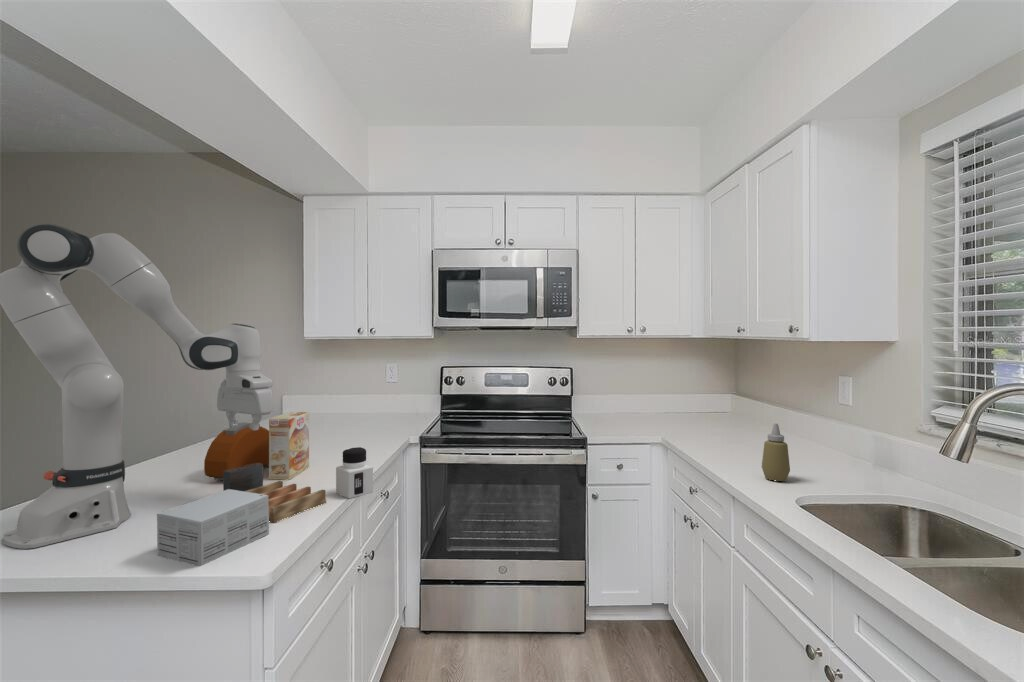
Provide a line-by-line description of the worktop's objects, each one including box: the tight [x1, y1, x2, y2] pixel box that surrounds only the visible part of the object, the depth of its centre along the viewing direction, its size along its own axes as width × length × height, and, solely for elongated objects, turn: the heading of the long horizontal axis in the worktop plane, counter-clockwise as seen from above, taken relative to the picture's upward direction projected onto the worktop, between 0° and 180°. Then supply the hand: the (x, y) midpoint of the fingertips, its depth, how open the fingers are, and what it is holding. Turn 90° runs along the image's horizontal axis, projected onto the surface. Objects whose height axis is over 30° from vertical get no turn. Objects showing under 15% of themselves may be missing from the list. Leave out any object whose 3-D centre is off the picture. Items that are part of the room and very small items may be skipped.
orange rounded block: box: [203, 422, 269, 481], centre depth 162 cm, size 23×9×17 cm, turn 169°
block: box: [222, 463, 264, 491], centre depth 140 cm, size 10×3×8 cm, turn 153°
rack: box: [244, 480, 327, 524], centre depth 130 cm, size 16×19×4 cm
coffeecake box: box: [268, 411, 310, 480], centre depth 161 cm, size 15×7×20 cm, turn 179°
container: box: [335, 446, 374, 499], centre depth 141 cm, size 8×8×13 cm
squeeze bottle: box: [761, 423, 791, 482], centre depth 156 cm, size 8×8×18 cm
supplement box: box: [156, 489, 270, 567], centre depth 106 cm, size 17×13×9 cm
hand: (243, 428), depth 139 cm, fingers open, 8 cm apart
